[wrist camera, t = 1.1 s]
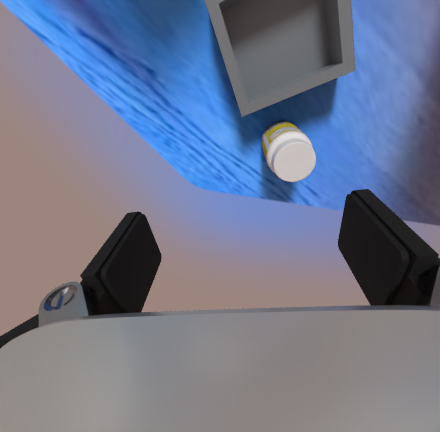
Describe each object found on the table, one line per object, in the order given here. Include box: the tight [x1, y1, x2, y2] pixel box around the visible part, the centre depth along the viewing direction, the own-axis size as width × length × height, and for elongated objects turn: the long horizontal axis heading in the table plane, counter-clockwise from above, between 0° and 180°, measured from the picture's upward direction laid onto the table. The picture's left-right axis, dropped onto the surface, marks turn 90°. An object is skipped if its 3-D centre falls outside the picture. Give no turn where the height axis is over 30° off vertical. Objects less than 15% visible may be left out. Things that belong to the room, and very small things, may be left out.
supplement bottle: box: [261, 121, 316, 182], centre depth 25 cm, size 5×5×8 cm
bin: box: [205, 0, 355, 117], centre depth 21 cm, size 11×10×4 cm
